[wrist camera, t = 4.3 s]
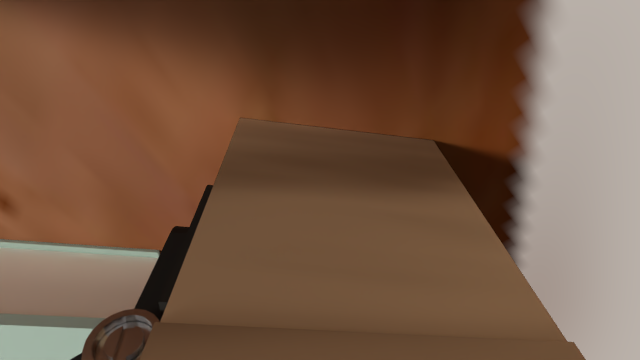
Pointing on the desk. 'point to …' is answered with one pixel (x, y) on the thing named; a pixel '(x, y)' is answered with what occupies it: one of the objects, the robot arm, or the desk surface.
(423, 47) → the desk surface
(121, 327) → the robot arm
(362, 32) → the desk surface
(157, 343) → the walnut block
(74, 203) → the desk surface
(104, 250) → the book
